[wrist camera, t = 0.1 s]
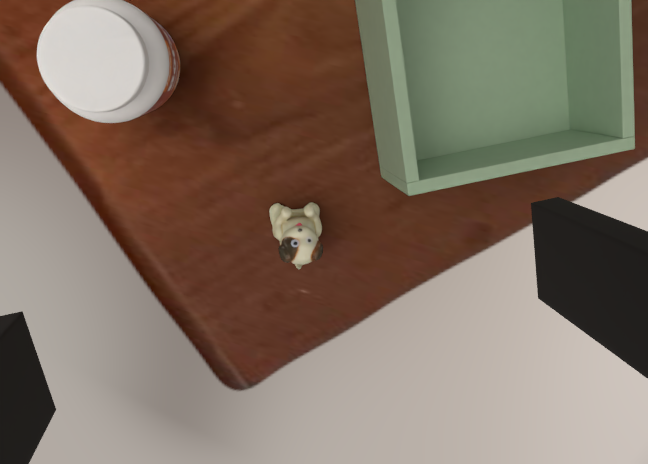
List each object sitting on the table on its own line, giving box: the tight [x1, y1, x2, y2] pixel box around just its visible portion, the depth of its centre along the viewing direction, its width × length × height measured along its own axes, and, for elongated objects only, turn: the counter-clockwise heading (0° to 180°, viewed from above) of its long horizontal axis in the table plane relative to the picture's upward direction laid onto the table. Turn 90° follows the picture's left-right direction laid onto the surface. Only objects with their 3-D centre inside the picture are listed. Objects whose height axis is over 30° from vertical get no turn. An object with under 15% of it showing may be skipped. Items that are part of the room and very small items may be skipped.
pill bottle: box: [37, 0, 180, 123], centre depth 32 cm, size 6×6×11 cm
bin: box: [355, 0, 635, 196], centre depth 37 cm, size 15×15×7 cm
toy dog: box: [269, 202, 323, 269], centre depth 39 cm, size 4×5×5 cm
